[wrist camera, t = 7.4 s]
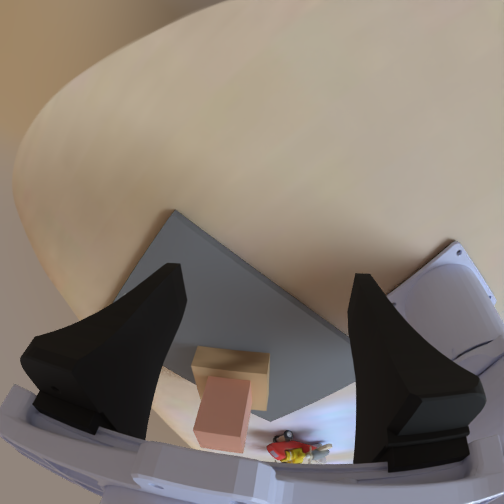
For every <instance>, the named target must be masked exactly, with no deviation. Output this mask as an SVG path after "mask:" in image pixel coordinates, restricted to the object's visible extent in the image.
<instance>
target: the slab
mask: <svg viewBox="0 0 504 504" xmlns="http://www.w3.org/2000/svg"><path fill="white" fill-rule="evenodd" d="M191 367H192V371H193V375H194V378H195V382H196V385H197V389H198V392H199V395H200V399H201V400H202V397H203V393H204V390H205V386H206V383H207V379H208V376H214V377H222V378H231V379H240V380H251V392H252V406H251V410H261V411H266V410H267V403H268V395H269V374H270V353H261V352H250V351H239V350H229V349H220V348H211V347H203V346H197V349H196V352H195V355H194V358H193V361H192V364H191Z"/></svg>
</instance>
